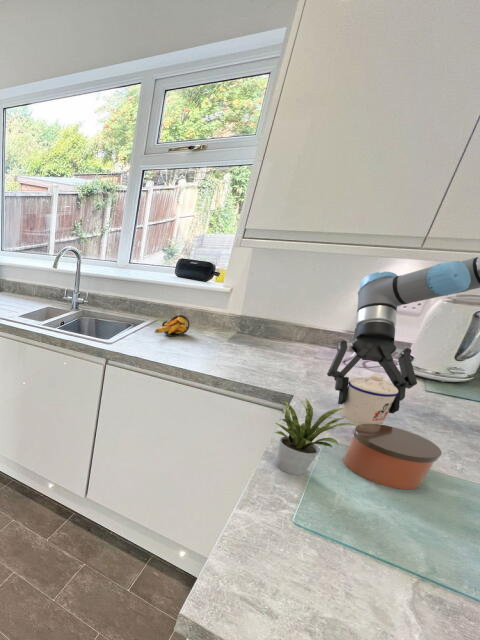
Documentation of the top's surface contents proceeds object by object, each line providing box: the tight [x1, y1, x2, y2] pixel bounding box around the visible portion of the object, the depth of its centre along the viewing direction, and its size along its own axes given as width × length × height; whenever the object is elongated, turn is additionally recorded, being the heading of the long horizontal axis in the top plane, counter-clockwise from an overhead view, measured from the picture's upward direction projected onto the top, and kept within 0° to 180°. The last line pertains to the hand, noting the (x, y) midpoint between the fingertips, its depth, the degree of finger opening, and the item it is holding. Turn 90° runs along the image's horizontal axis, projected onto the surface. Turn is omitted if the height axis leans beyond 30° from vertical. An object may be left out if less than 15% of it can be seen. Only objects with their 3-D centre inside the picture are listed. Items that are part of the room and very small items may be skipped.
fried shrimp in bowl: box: [154, 314, 191, 337], centre depth 178 cm, size 9×11×18 cm
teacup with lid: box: [337, 374, 398, 425], centre depth 103 cm, size 12×9×12 cm
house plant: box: [273, 398, 363, 476], centre depth 90 cm, size 14×14×16 cm
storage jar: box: [342, 424, 442, 490], centre depth 91 cm, size 14×14×8 cm
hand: (367, 406), depth 101 cm, fingers closed on teacup with lid, 9 cm apart
